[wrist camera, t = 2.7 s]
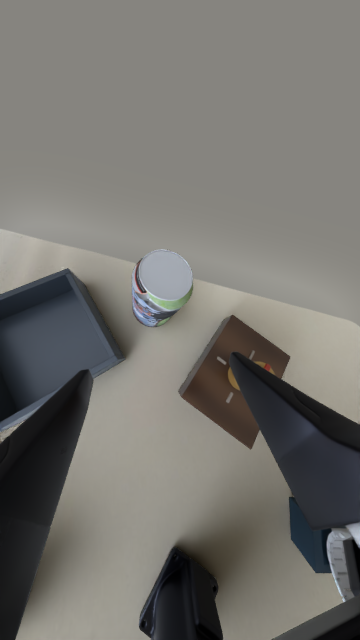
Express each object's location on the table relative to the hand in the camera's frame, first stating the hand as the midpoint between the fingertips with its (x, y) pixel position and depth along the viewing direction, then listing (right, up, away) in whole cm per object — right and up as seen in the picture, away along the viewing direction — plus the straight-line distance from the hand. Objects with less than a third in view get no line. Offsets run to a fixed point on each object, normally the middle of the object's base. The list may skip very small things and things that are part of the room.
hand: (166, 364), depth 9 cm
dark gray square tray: (-17, -1, +11) cm, 20 cm away
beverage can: (-3, +4, +15) cm, 16 cm away
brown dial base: (+9, -6, +14) cm, 18 cm away
